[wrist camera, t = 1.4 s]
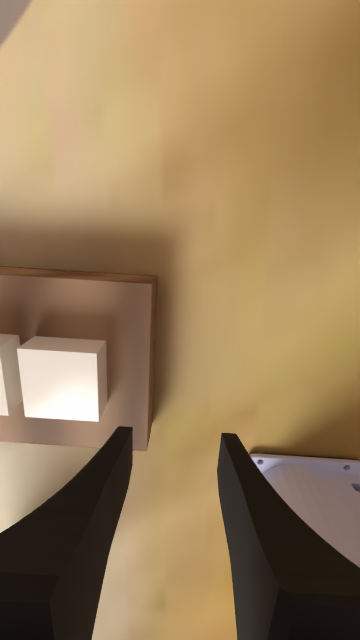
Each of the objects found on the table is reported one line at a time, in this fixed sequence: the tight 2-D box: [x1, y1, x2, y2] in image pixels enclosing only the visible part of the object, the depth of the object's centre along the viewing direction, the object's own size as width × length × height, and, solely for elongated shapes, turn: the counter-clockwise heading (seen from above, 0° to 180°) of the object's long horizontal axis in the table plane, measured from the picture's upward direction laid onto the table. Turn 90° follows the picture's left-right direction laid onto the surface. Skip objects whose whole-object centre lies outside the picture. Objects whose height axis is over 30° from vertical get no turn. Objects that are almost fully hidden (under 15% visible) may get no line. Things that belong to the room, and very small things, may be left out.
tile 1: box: [17, 336, 107, 422], centre depth 18 cm, size 4×4×2 cm
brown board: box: [0, 267, 157, 451], centre depth 20 cm, size 14×12×3 cm
